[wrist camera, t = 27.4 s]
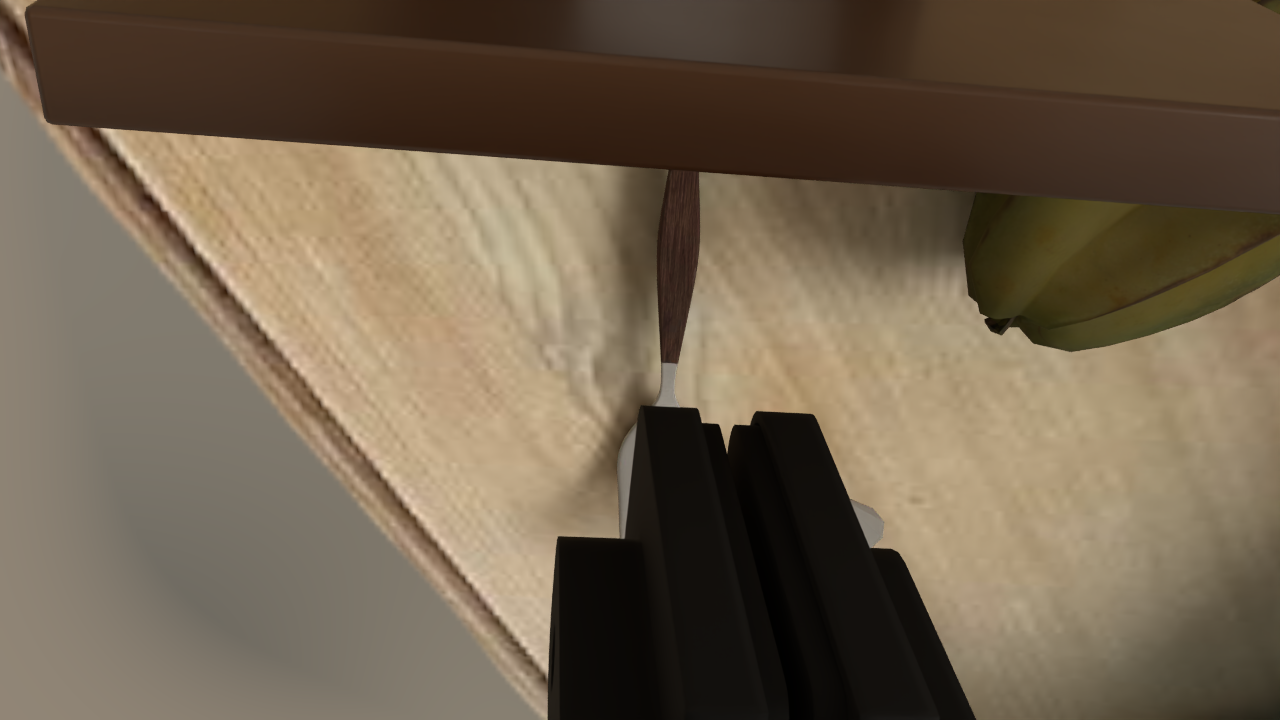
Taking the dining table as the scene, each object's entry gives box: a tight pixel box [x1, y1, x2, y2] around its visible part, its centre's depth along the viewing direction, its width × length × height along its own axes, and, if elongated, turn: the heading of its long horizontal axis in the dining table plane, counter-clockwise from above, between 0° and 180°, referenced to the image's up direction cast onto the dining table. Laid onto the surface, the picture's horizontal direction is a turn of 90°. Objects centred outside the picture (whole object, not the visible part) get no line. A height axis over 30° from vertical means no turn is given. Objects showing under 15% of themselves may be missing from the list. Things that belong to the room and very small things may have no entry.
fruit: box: [963, 0, 1280, 352], centre depth 27 cm, size 11×12×7 cm
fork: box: [617, 170, 700, 539], centre depth 30 cm, size 3×16×2 cm, turn 177°
